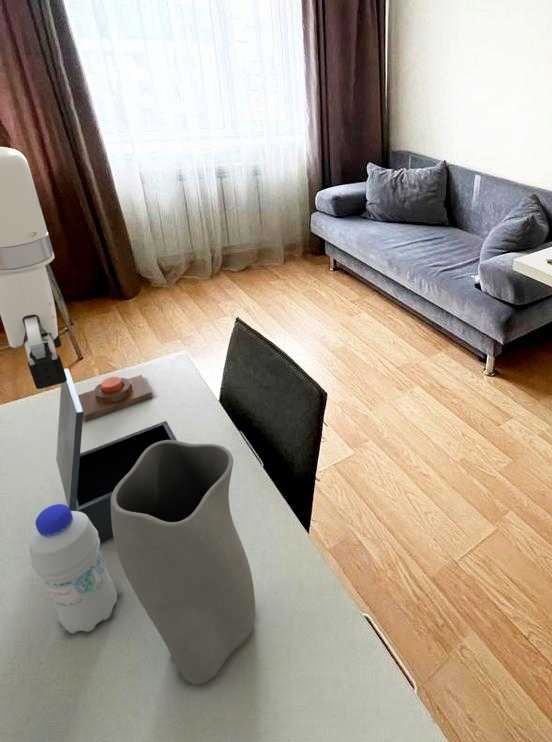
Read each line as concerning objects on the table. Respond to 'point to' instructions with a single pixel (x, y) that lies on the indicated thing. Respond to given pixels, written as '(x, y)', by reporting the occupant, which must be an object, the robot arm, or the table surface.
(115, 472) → the box
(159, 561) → the vase
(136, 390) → the block
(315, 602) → the table surface
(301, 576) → the table surface
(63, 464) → the lid
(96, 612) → the bottle
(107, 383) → the button
